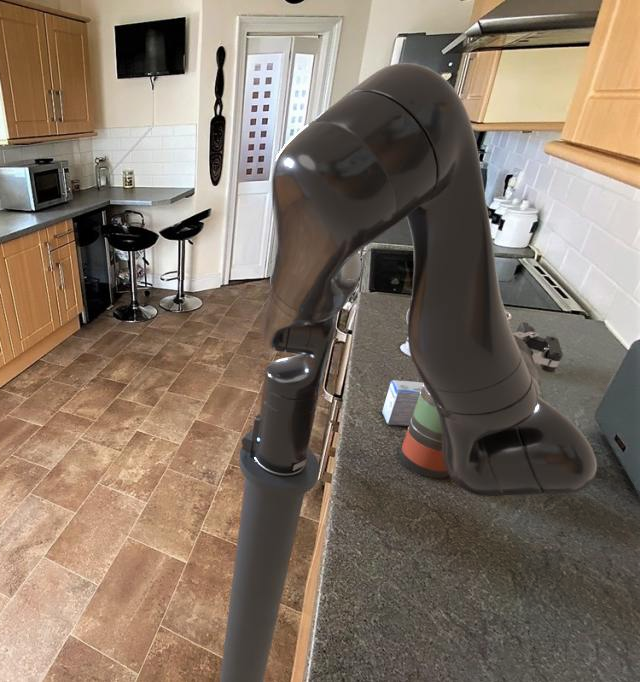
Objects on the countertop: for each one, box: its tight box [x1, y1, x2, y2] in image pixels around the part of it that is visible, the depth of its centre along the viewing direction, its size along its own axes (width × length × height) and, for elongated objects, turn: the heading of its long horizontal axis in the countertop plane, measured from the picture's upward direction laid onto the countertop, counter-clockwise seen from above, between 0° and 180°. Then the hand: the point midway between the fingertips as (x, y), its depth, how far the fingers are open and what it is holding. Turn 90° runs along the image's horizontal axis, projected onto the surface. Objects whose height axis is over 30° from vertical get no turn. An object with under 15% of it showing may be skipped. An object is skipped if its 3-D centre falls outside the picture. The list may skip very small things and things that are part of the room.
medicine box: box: [382, 379, 424, 427], centre depth 89 cm, size 8×4×9 cm, turn 77°
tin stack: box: [399, 384, 450, 479], centre depth 77 cm, size 9×9×16 cm
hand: (483, 322), depth 64 cm, fingers open, 8 cm apart
